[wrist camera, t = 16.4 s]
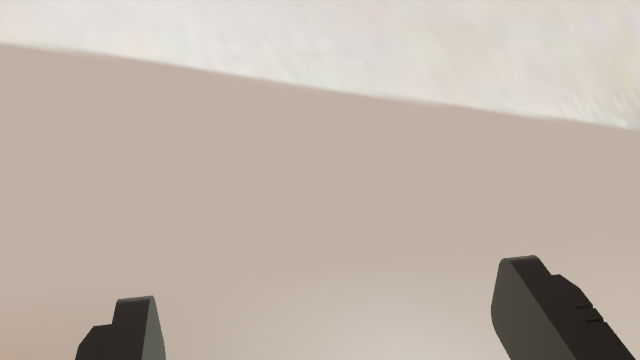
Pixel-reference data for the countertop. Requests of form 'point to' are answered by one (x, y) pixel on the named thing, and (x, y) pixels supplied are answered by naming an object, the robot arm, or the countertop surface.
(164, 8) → the countertop surface
